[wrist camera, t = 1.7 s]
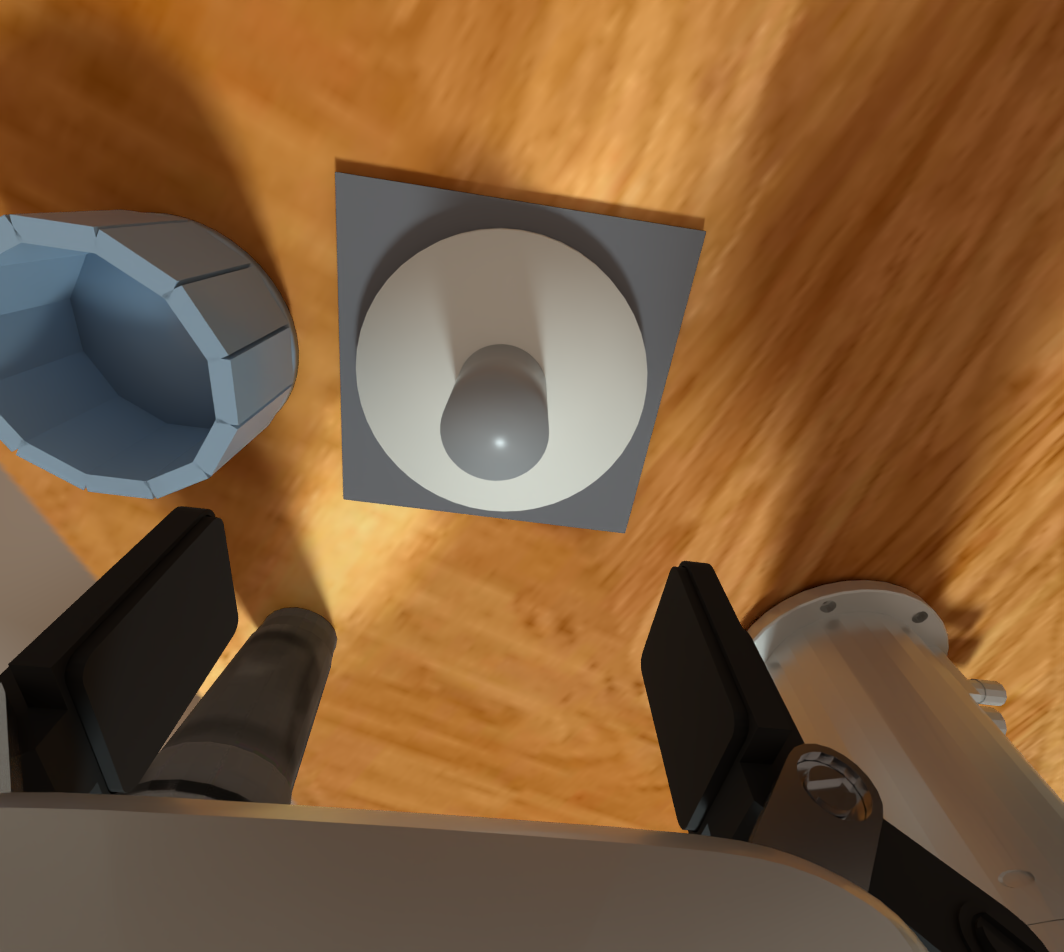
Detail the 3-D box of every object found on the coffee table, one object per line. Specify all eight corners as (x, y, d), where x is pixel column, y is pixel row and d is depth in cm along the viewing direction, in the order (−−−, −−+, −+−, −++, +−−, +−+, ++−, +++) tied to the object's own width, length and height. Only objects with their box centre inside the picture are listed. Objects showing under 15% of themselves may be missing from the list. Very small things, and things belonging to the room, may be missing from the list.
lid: (675, 253, 22) (719, 273, 17) (611, 515, 28) (628, 589, 23) (360, 204, 21) (303, 209, 16) (363, 484, 28) (322, 555, 22)
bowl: (291, 232, 22) (216, 245, 17) (304, 448, 27) (249, 510, 22) (39, 194, 22) (-121, 194, 16) (97, 421, 26) (-12, 479, 21)
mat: (703, 230, 22) (706, 231, 22) (623, 529, 29) (624, 533, 29) (338, 172, 21) (335, 171, 21) (345, 495, 28) (343, 499, 28)
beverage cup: (277, 568, 31) (-74, 1085, 13) (383, 632, 33) (208, 1146, 15) (217, 638, 33) (-145, 1150, 15) (319, 693, 35) (105, 1194, 18)
